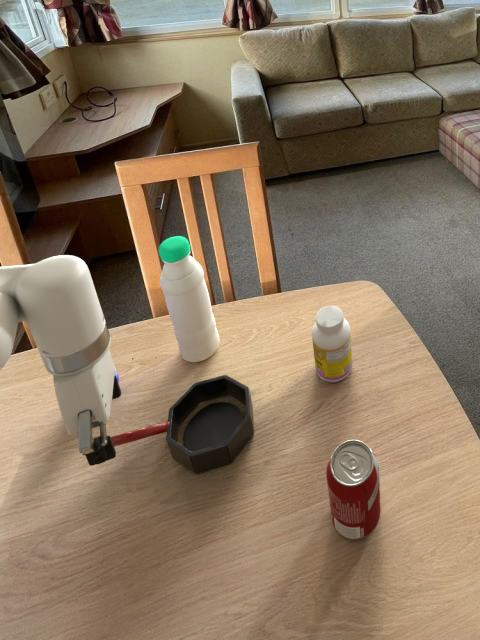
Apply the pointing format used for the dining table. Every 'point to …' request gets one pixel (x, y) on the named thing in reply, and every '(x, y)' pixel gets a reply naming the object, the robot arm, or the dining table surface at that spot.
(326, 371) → the supplement bottle
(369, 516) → the soda can
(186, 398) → the pan
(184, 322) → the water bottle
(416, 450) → the dining table surface
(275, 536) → the dining table surface
